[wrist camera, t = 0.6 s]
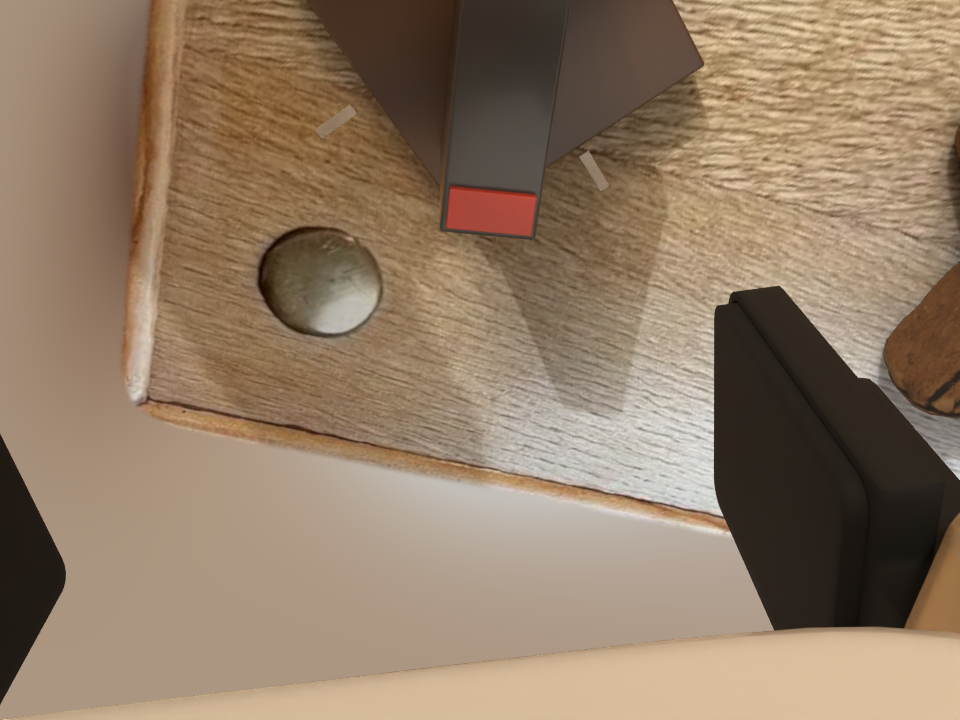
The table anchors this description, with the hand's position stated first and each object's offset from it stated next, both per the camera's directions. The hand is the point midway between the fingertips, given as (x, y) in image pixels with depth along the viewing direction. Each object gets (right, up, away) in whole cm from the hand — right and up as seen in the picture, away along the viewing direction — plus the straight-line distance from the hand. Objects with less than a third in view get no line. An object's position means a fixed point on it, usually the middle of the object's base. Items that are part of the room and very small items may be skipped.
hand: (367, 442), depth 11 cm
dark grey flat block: (+2, +11, +14) cm, 18 cm away
